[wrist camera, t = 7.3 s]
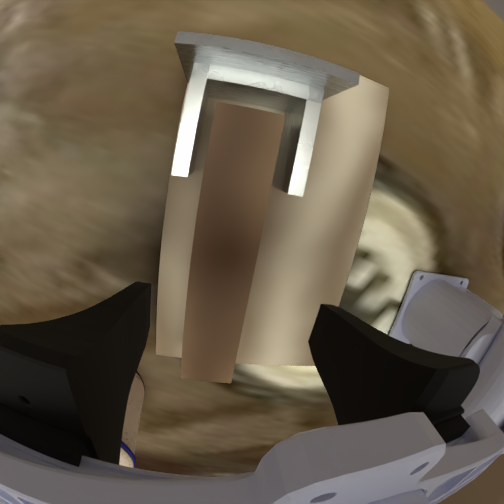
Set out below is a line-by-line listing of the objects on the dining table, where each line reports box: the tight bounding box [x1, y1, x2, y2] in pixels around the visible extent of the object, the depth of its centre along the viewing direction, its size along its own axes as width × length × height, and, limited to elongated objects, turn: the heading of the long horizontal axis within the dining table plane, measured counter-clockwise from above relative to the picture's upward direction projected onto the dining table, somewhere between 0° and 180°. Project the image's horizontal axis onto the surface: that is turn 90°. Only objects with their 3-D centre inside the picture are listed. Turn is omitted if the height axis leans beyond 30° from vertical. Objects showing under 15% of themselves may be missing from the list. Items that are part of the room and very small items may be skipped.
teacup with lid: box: [119, 373, 145, 468], centre depth 18 cm, size 12×9×12 cm
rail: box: [180, 102, 285, 383], centre depth 17 cm, size 4×17×4 cm, turn 169°
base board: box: [156, 76, 389, 366], centre depth 20 cm, size 14×24×1 cm, turn 169°
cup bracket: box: [171, 31, 360, 197], centre depth 14 cm, size 8×6×7 cm
